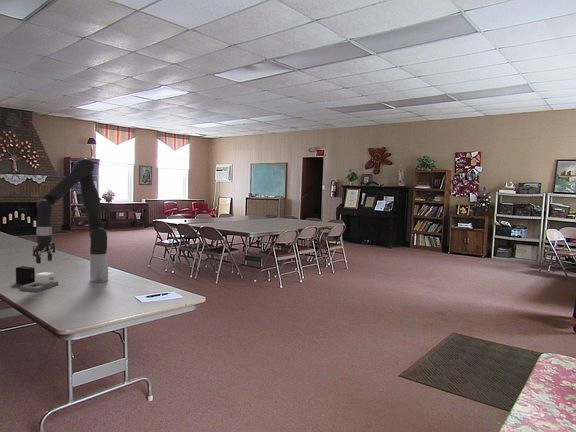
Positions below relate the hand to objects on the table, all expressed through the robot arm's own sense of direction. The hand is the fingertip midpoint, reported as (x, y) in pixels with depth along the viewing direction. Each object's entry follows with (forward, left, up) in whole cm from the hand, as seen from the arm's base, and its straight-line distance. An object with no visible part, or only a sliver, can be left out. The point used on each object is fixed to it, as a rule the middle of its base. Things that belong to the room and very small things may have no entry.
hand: (44, 262), depth 236 cm
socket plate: (0, +4, -14) cm, 15 cm away
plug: (0, 0, -14) cm, 14 cm away
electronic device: (+14, -1, -15) cm, 20 cm away
